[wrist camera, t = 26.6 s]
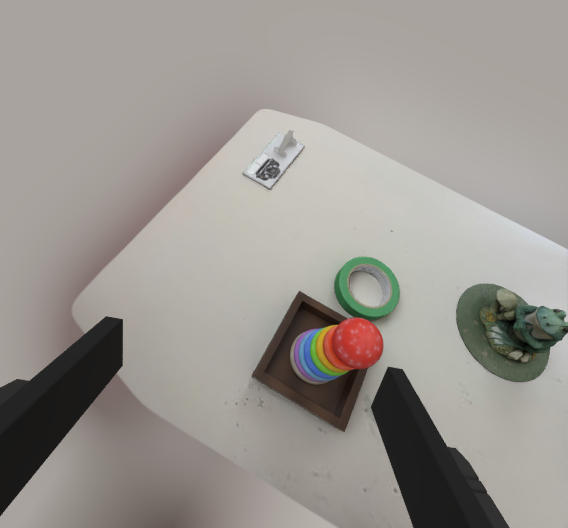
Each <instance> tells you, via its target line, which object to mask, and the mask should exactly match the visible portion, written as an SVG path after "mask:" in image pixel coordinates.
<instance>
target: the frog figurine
mask: <svg viewBox="0 0 568 528" xmlns="http://www.w3.org/2000/svg"><path fill="white" fill-rule="evenodd" d="M565 317H566V313H565V311H562V310H559V309H549V308H546V307H545V306H541V307H539V308H538V307H536V306H530V305H528V304H527V303H526V302H525V301H524V300H523V299H522V298H521V297H519V296H518V295H517V294H515V293H513V292H512V291H510V290H507V289H505V288H503V287H501V286H498V285H494V284H478V285H475V286H472V287H471V288H469V289H467V290H466V291H465V292H464V293H463V295H462V296H461V298H460V300H459V302H458V306H457V325H458V328H459V331H460V334H461V336H462V339H463V341H464V343H465V345H466V346H467V348H468V350H469V351H470V352H471V354H472V355H473V356H474V357H475V358H476V359H477V360H478V361H479V362H480V363H481V364H482V365H483V366H484V367H485V368H487V369H488V370H489V371H491V372H492V373H494V374H496V375H498V376H500V377H502V378H504V379H507V380H511V381H521V382H522V381H530V380H533V379H535V378H536V377H538V376H539V375H540V374H541V373H542V372H543V371H544V369H545V367H546V365H547V363H548V359H549V353H550V347H551V346H554V345H555V344H556V343H557V342H558V341H560V340H562V338H563V337H564V336H565V335H566V334H567V333H568V323H567V322H564V318H565Z"/></svg>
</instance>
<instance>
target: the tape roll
mask: <svg viewBox="0 0 568 528" xmlns="http://www.w3.org/2000/svg"><path fill="white" fill-rule="evenodd" d="M354 271H366V272H369V273H371V274H372V275H374V276H375V277H376V278H377V279H378V280H379V282H380V283H381V285H382V288H383V292H384V297H383V301H382V303H381V304H380V305H379V306H377V307H370V306H366V305H363V304H361V303H360V302H359V301H358V300H356V299H355V298H354V296H353V295H352V293H351V291H350V288H349V276H350V274H351V273H352V272H354ZM335 294H336V297H337V299H338V301H339V303H340V304H341V306H342V307H343V308H344V309H345V310H346V311H347V312H348V313H349V314H351V315H352V316H354V317H357V318H363V319H366V320H374V319H378V318H380V317H382V316H385V315H387V314H388V313H390V312H391V311H392V310H393V309H394V308H395V307H396V305H397V303H398V300H399V285H398V282H397V279H396V277H395V275H394V274H393V272H392V271H391V270H390V269H389V268H388V267H387V266H386V265H385V264H383V263H382V262H380V261H379V260H376V259H374V258H370V257H357V258H354V259H352V260H350V261H349V262H347V263H346V264H345V265H344V266H343V267H342V269H341V270H340V271H339V272H338V274H337V276H336V279H335Z"/></svg>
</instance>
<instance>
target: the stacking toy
mask: <svg viewBox="0 0 568 528" xmlns="http://www.w3.org/2000/svg"><path fill="white" fill-rule="evenodd" d="M382 352H383V339H382V336H381V333H380V331H379V330H378V328H377V327H376V326H375V325H374V324H373V323H371V322H370V321H368V320H366V319H363V318H349V319H346V320H344V321H343V322H341V323H340V324H339V325H331V326H328V327H325V328H320V329H311V330H308V331H305V332H303V333H301V334H300V335H299V336H298V337H297V338H296V339H295V340H294V342H293V344H292V346H291V350H290V362H291V365H292V368H293V370H294V372H295V373H296V374H297V376H298V377H299V378H301V379H302V380H303V381H305V382H307V383H310V384H314V385H320V384H324V383H327V382H329V381H330V380H333V379H335V378H337V377H339V376H341V375H343V374H345V373H347V372H348V371H349V370H353V369H365V368H368V367H371V366H372V365H374V364H375V363H376V362H377V361H378V360H379V359H380V357H381V355H382Z"/></svg>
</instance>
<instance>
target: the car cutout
mask: <svg viewBox="0 0 568 528" xmlns="http://www.w3.org/2000/svg"><path fill="white" fill-rule="evenodd" d="M303 148H304V145H302V144H300V143H298V142H296V140H295V139H293V131H291V130H290V131H289V132H288V133H287V134H286V135H283V134H282V133H280V132H279V133H278V135H277V136H276V137H275V138H274V139H273V140H272V141H271V142H270V143H269V144H268V145H267V147H266V148H265V149H264V150H263V151H262V152H261V153H260V154H259V155H258V156H257V157H256V159H255V160H254V161H253V162H252V163H251V164H250V165H249V166H248V167H247V168H246V169H245V171H244V172H243V175H245V176H247V177H249V178H250V179H252V180H254V181H256V182H257V183H259V184H261V185H263V186H264V187H266V188H268V189H271V188H272V186H273V185H274V184H275V183H276V181H277V180H278V179H279V178H280V176H281V175H282V174H283V173H284V172H285V170H286V169H287V168H288V167H289V165H290V164H291V163H292V162H293V160H294V159H295V158H296V157H297V156H298V154H299V153H300V152H301V151H302V149H303Z"/></svg>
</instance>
